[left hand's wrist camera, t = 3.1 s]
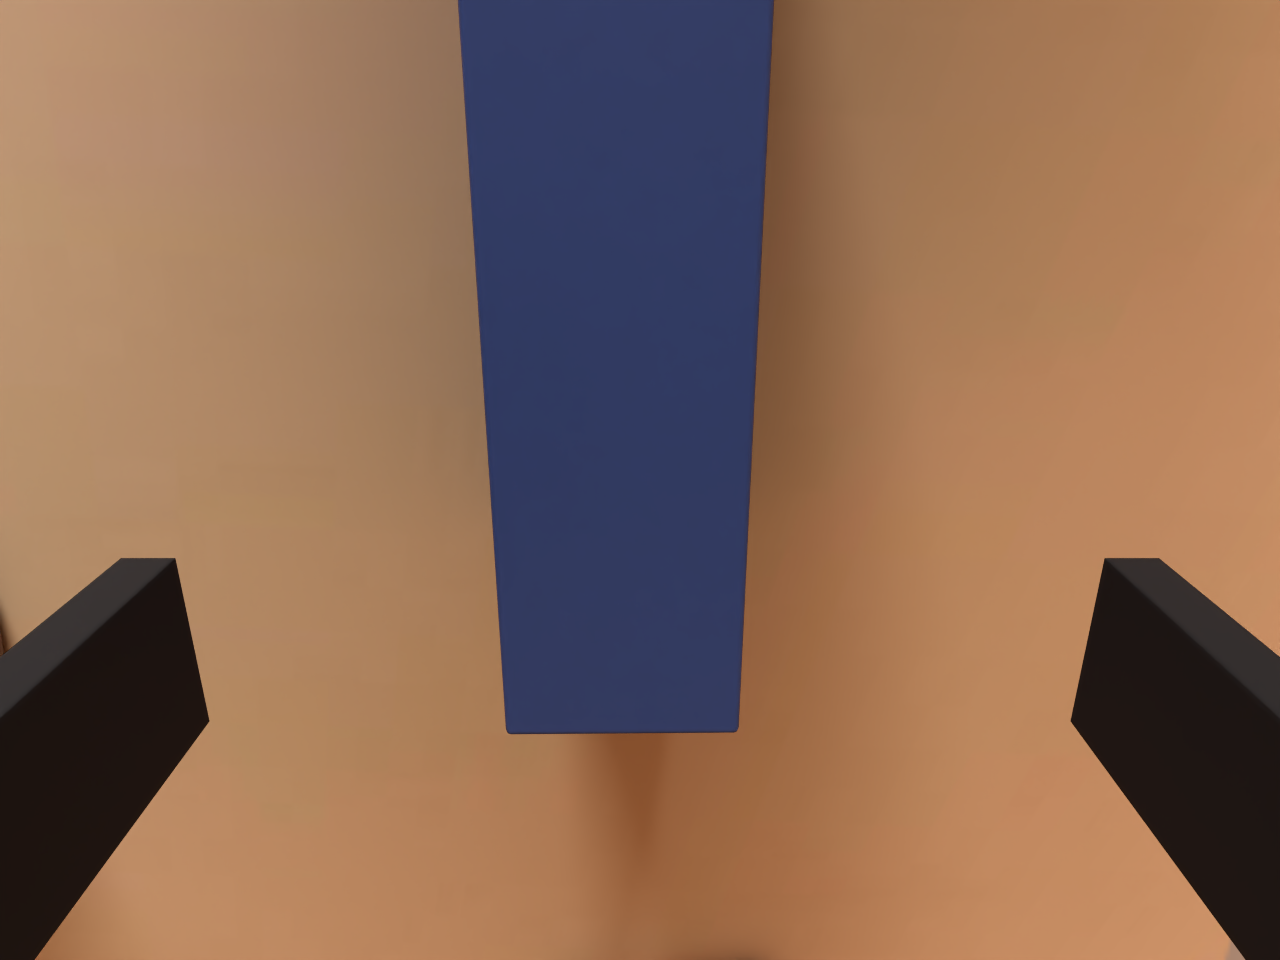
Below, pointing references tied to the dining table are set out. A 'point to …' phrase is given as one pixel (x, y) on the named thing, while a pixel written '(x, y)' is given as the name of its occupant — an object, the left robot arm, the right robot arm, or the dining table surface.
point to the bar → (618, 347)
